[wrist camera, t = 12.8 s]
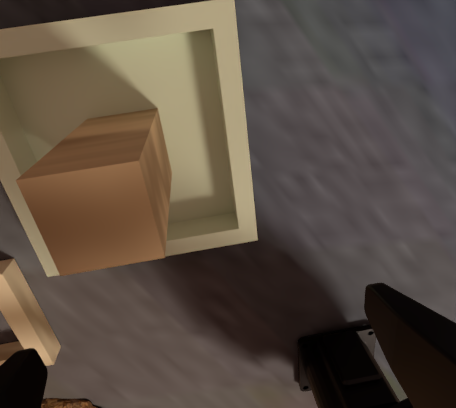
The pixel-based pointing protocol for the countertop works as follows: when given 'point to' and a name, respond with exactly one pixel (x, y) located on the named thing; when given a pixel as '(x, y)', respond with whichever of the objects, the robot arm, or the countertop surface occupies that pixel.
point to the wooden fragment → (66, 403)
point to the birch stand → (24, 316)
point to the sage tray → (137, 109)
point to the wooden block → (103, 193)
